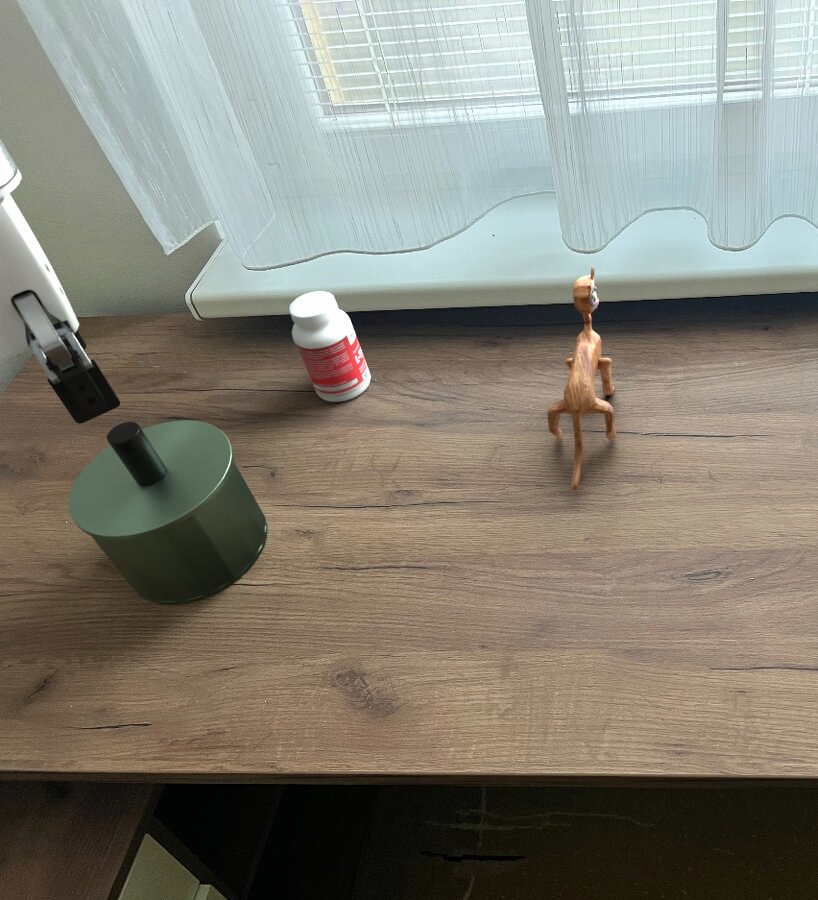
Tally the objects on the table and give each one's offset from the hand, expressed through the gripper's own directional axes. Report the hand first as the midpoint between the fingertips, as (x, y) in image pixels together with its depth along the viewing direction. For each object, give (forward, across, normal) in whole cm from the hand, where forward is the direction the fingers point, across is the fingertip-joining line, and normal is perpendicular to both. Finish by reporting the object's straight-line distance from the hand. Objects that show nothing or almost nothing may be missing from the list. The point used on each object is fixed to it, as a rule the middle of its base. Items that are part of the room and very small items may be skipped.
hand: (82, 383), depth 67 cm
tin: (+21, -1, +1) cm, 21 cm away
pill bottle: (+20, -13, +22) cm, 32 cm away
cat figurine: (+21, +12, +37) cm, 44 cm away
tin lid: (+11, 0, +1) cm, 11 cm away
